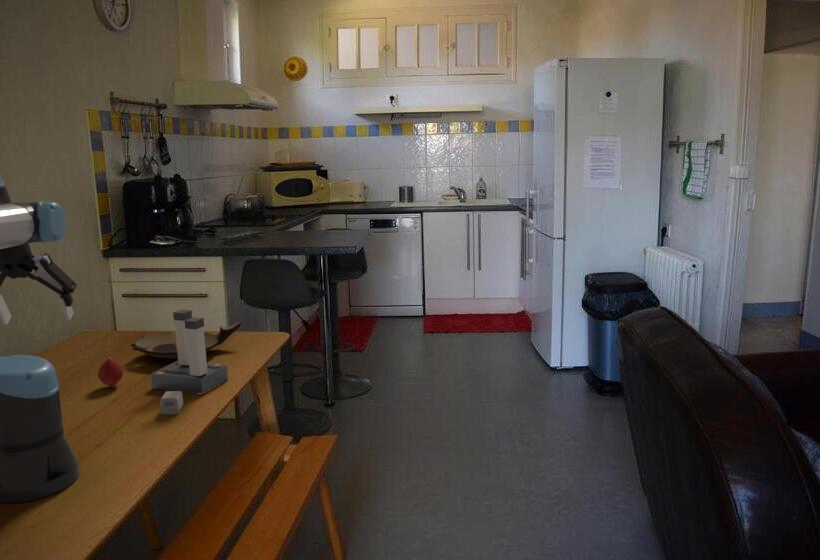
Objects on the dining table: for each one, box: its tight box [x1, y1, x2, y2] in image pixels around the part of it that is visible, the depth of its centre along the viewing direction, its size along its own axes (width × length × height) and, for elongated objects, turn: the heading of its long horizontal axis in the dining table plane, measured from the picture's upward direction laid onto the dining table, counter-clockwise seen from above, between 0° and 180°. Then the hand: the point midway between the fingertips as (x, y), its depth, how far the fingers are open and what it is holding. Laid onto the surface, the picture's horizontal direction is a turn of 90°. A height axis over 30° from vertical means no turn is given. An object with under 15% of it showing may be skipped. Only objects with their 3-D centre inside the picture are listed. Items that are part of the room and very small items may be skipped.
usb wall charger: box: [159, 390, 184, 415], centre depth 157 cm, size 4×7×4 cm, turn 5°
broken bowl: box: [130, 321, 242, 360], centre depth 196 cm, size 22×30×8 cm
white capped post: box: [172, 309, 193, 365], centre depth 175 cm, size 3×3×14 cm
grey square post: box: [185, 316, 208, 376], centre depth 167 cm, size 3×3×14 cm
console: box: [150, 360, 229, 395], centre depth 173 cm, size 11×15×4 cm
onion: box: [97, 356, 124, 388], centre depth 171 cm, size 6×6×8 cm
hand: (39, 318), depth 151 cm, fingers open, 13 cm apart
